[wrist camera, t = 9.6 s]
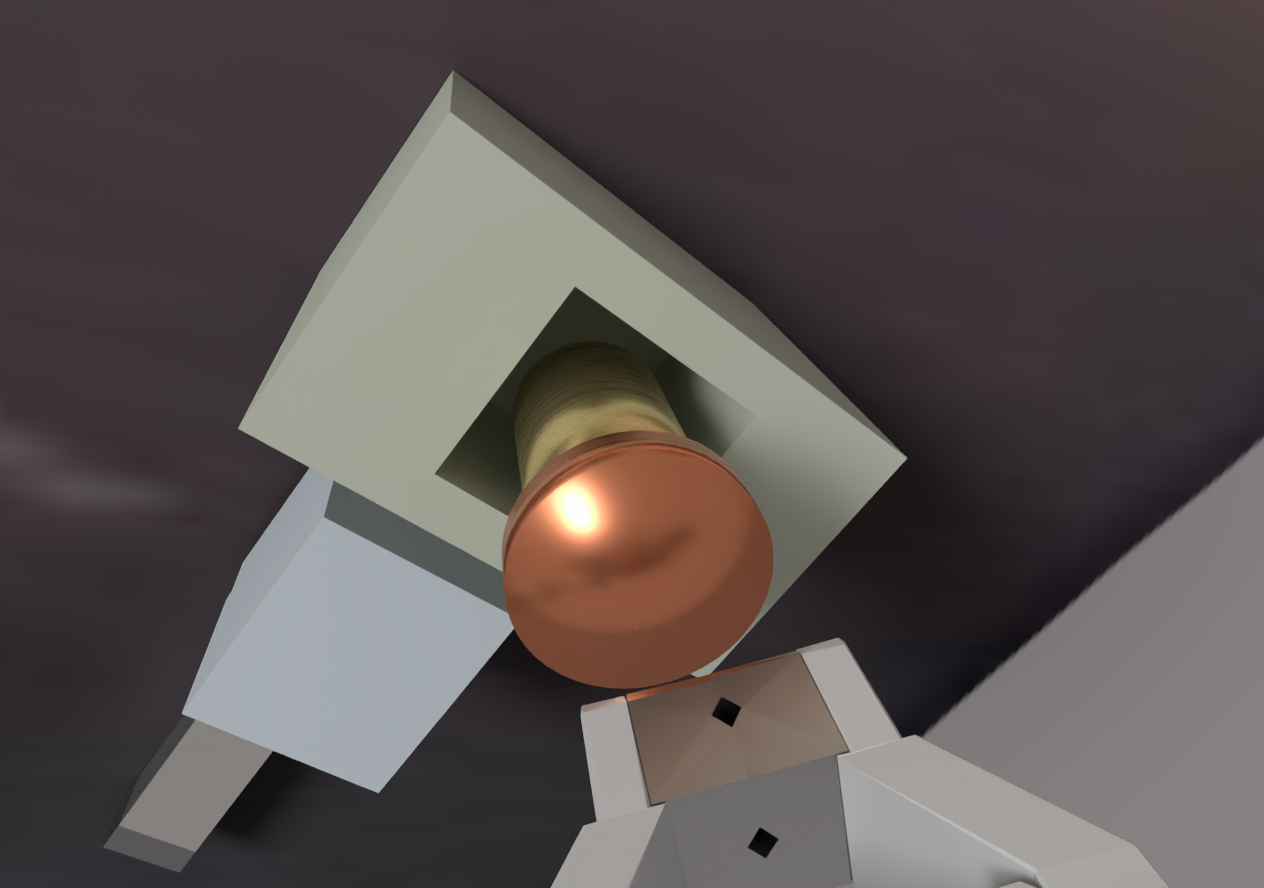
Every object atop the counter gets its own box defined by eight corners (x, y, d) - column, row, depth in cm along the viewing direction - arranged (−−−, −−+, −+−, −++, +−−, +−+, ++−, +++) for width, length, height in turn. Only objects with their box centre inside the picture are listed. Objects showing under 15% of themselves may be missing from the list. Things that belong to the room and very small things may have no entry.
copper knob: (605, 528, 18) (661, 725, 13) (451, 436, 17) (448, 617, 12) (720, 388, 17) (826, 543, 12) (568, 280, 16) (618, 404, 11)
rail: (195, 821, 30) (179, 872, 29) (124, 796, 29) (103, 847, 28) (519, 395, 26) (524, 423, 24) (447, 349, 25) (446, 375, 23)
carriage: (394, 635, 28) (378, 793, 22) (241, 561, 26) (181, 713, 20) (507, 490, 27) (521, 619, 21) (354, 400, 25) (324, 517, 19)
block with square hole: (634, 468, 27) (718, 689, 19) (321, 269, 23) (237, 428, 15) (762, 311, 26) (921, 468, 17) (453, 69, 22) (449, 112, 13)
